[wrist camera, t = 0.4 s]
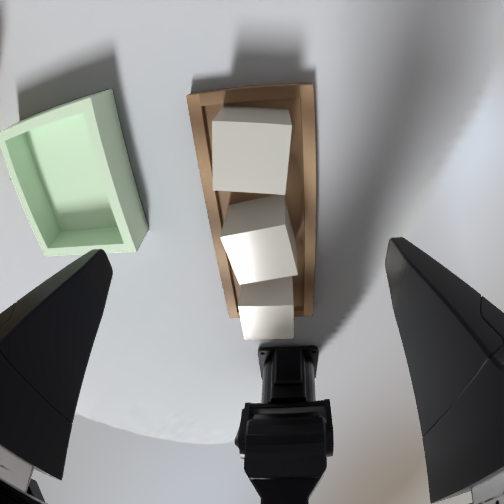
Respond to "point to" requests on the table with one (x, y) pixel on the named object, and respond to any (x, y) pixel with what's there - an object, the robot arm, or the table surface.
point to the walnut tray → (296, 195)
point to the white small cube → (260, 239)
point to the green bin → (76, 178)
